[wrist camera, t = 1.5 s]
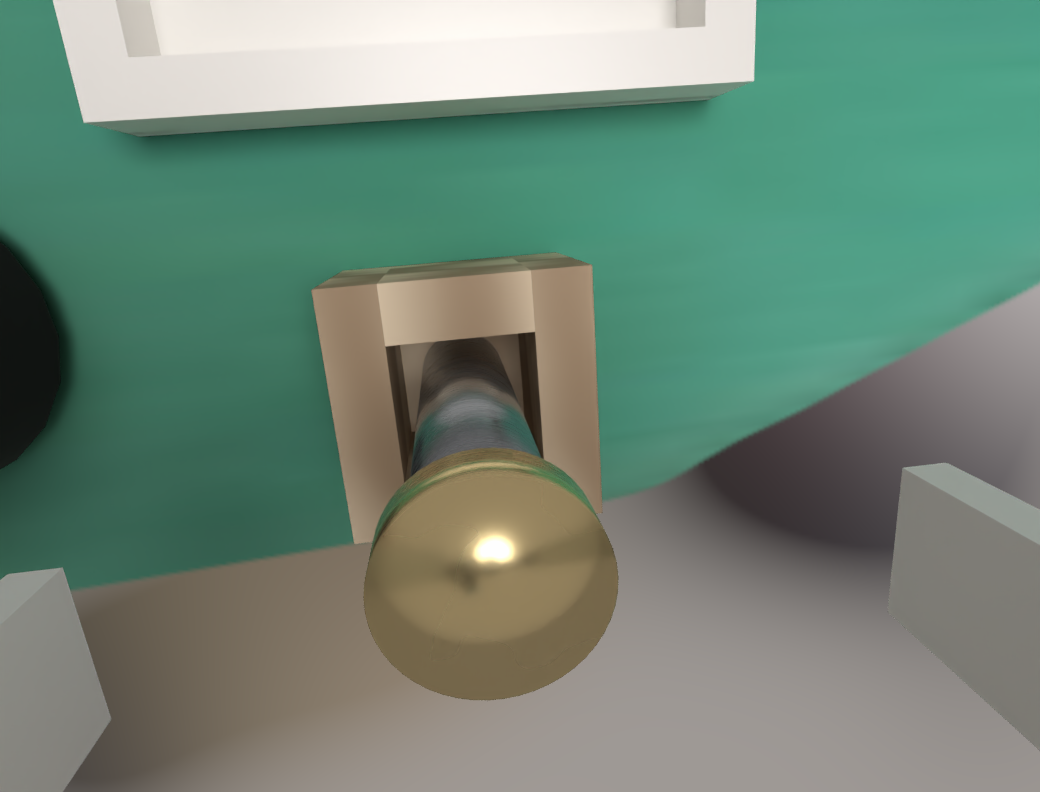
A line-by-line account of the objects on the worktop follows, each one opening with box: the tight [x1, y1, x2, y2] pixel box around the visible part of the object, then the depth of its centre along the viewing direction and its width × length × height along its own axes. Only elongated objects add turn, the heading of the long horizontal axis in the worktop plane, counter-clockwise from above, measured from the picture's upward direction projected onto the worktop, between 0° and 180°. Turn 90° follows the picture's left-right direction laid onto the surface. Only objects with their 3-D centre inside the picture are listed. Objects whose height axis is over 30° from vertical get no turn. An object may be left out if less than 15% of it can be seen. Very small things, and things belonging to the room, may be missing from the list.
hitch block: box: [311, 252, 602, 544], centre depth 22 cm, size 8×8×6 cm
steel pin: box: [364, 337, 618, 700], centre depth 17 cm, size 4×4×15 cm
